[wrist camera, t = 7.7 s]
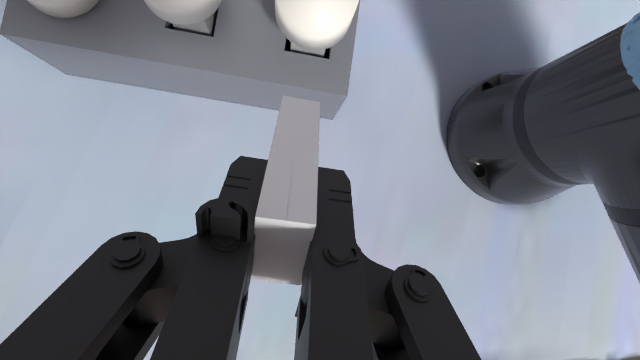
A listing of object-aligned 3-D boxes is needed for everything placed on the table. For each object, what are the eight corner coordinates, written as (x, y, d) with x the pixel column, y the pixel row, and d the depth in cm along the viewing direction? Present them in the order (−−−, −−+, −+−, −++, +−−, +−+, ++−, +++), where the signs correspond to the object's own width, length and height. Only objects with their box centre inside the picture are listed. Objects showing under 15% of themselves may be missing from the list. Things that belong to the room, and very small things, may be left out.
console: (348, 2, 38) (367, -53, 30) (332, 119, 36) (347, 95, 28) (93, -52, 35) (36, -130, 27) (66, 74, 33) (-3, 32, 25)
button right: (343, 20, 31) (364, -43, 23) (335, 80, 31) (354, 37, 23) (281, 7, 30) (281, -62, 22) (271, 69, 30) (268, 20, 22)
